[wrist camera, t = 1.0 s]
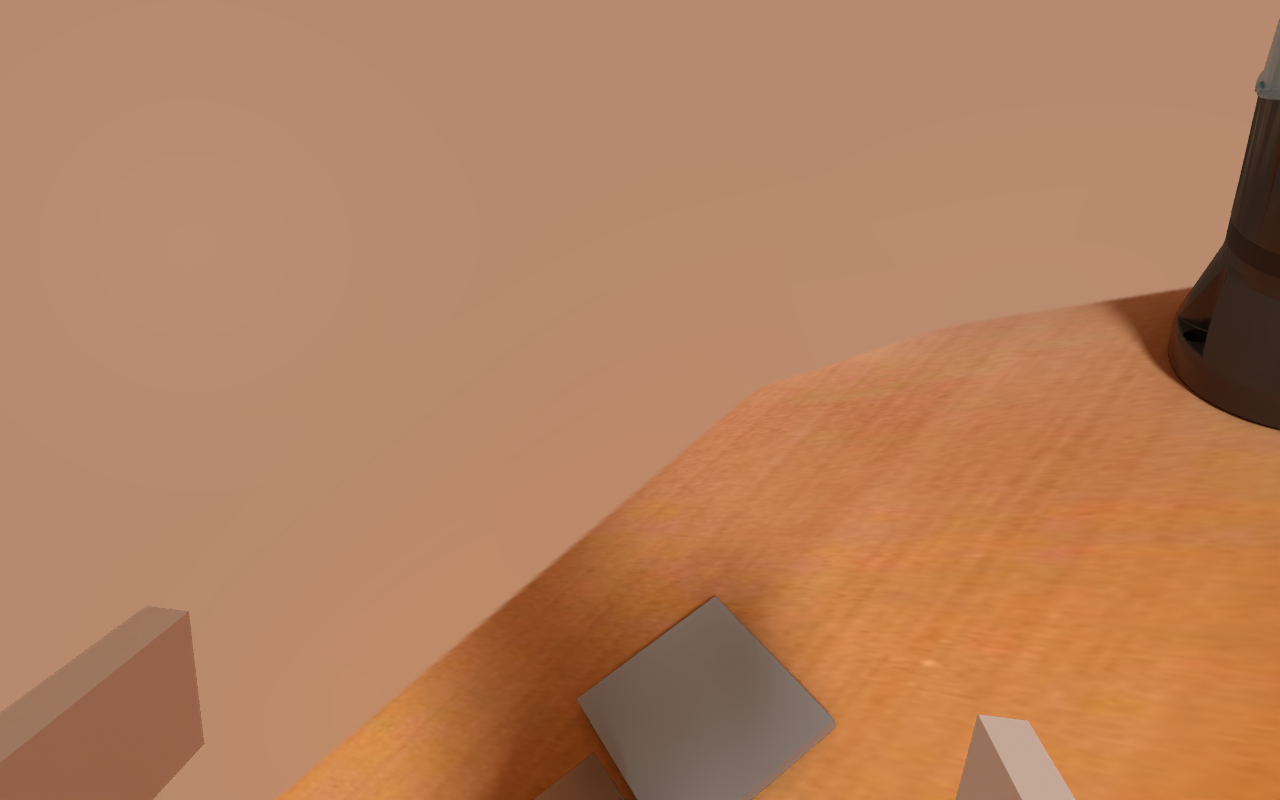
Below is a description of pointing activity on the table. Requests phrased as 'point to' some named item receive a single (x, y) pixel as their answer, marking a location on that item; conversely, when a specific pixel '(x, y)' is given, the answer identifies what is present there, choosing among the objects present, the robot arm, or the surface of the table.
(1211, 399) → the robot arm
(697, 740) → the slate coaster
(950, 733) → the table surface
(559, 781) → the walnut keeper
